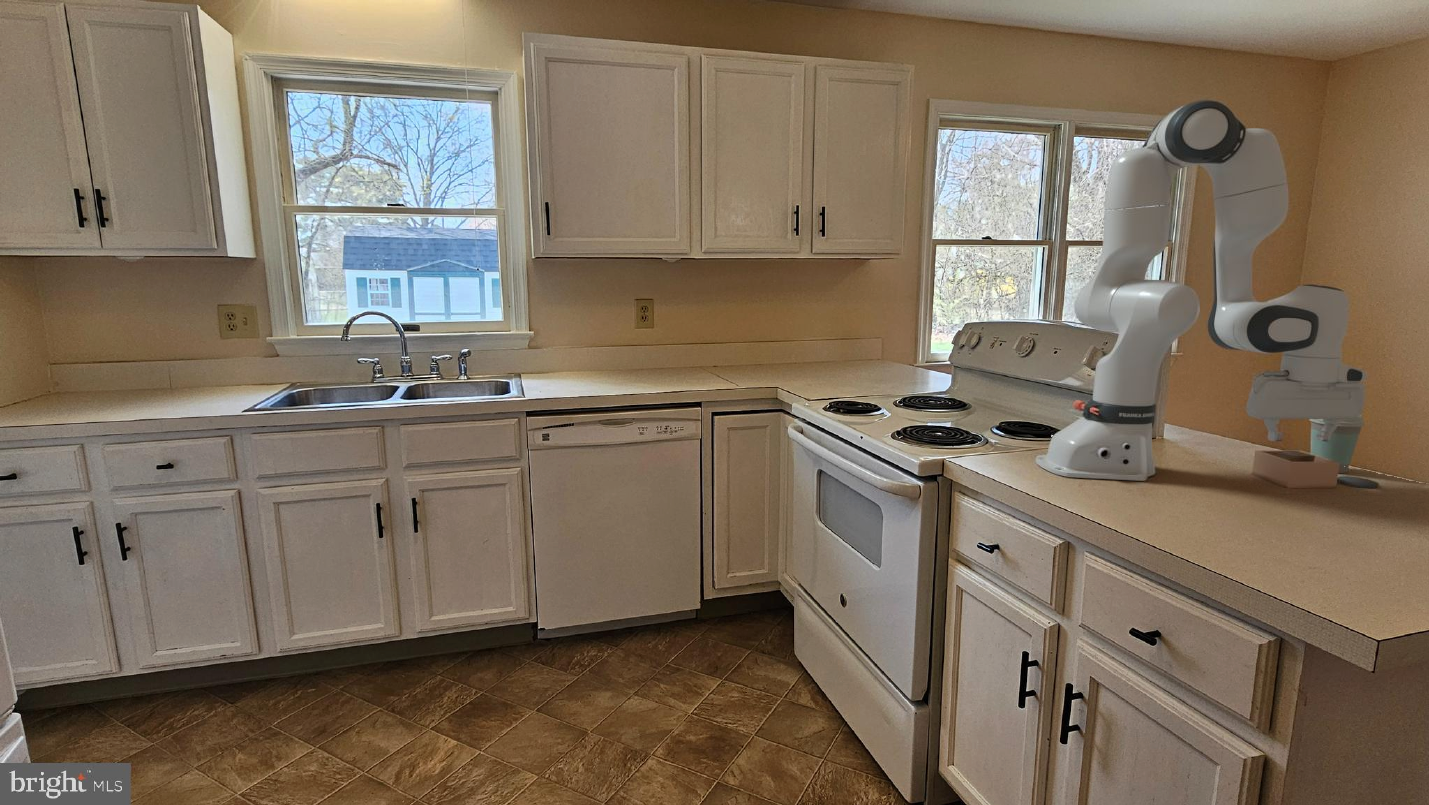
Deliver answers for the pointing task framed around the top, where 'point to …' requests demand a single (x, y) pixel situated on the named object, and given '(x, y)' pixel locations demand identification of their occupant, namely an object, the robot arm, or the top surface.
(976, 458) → the top surface
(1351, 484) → the dark grey flat disc
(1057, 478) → the top surface
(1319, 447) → the coffee cup
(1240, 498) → the top surface
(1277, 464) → the pink open square tray
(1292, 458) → the walnut block
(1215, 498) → the top surface
